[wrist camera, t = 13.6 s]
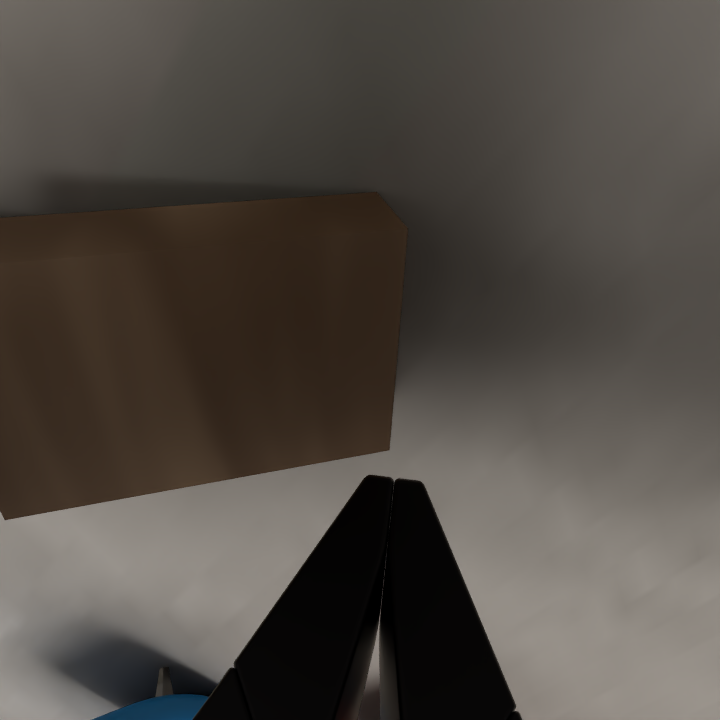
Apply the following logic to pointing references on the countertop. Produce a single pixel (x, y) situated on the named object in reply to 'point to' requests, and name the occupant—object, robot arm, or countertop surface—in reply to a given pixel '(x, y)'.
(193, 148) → the countertop surface
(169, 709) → the alarm clock
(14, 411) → the tile
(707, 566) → the countertop surface
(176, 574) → the countertop surface
